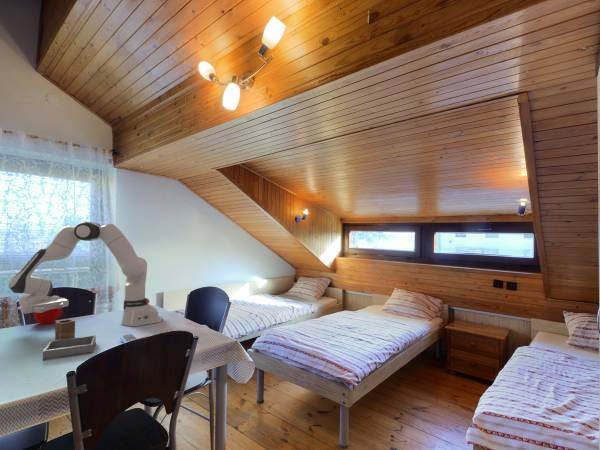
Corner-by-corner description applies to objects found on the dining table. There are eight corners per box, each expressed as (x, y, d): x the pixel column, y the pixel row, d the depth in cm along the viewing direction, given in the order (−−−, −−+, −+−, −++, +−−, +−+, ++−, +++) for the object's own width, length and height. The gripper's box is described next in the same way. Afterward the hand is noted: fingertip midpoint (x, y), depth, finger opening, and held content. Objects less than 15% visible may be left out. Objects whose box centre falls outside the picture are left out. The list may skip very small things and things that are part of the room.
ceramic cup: (51, 327, 182) (51, 309, 182) (26, 325, 185) (27, 308, 185) (71, 320, 195) (71, 304, 195) (47, 319, 198) (48, 303, 198)
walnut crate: (55, 342, 159) (55, 321, 159) (68, 338, 164) (68, 319, 164) (61, 344, 156) (61, 323, 156) (74, 340, 161) (75, 320, 161)
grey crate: (95, 343, 158) (95, 335, 158) (92, 353, 145) (92, 344, 145) (50, 349, 149) (50, 340, 149) (42, 360, 137) (42, 351, 137)
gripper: (15, 301, 164) (28, 305, 157) (61, 295, 181) (74, 298, 175) (15, 314, 163) (27, 318, 157) (60, 306, 181) (73, 309, 175)
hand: (52, 307), depth 166 cm, fingers open, 8 cm apart
